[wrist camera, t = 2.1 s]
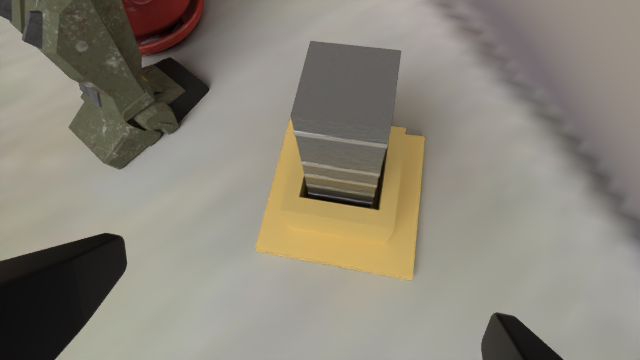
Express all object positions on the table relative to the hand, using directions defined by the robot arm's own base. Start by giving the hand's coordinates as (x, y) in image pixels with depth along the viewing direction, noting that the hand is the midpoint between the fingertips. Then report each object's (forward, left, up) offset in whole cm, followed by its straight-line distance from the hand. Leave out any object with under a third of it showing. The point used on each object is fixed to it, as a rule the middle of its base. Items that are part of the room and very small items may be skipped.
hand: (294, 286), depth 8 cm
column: (+7, +5, -15) cm, 17 cm away
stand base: (+7, +5, -16) cm, 18 cm away
